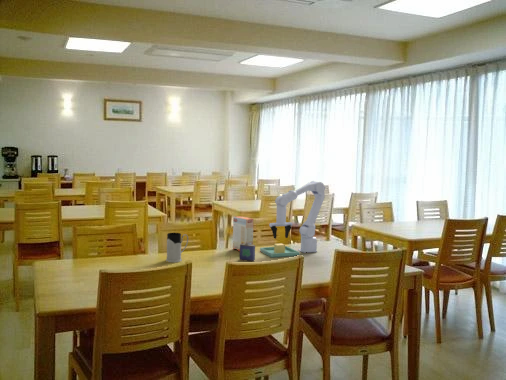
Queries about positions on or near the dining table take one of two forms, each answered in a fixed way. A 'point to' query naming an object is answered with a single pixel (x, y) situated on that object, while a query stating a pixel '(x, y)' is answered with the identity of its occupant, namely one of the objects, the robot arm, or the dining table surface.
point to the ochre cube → (279, 248)
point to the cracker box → (242, 231)
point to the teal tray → (272, 254)
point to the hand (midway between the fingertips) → (280, 238)
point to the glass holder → (174, 247)
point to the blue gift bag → (247, 252)
